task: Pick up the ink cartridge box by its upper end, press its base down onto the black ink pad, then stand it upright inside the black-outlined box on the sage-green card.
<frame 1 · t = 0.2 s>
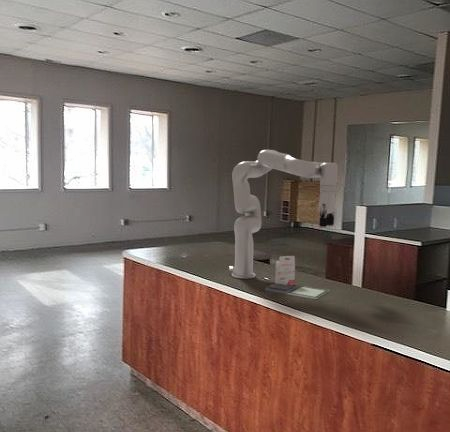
hand: (326, 225, 230), 31 cm above the counter, tool pointing down, fingers open, 9 cm apart
ink pad: (280, 290, 230), on the counter
ink cartridge box: (284, 284, 241), on the counter
marked card: (308, 292, 226), on the counter
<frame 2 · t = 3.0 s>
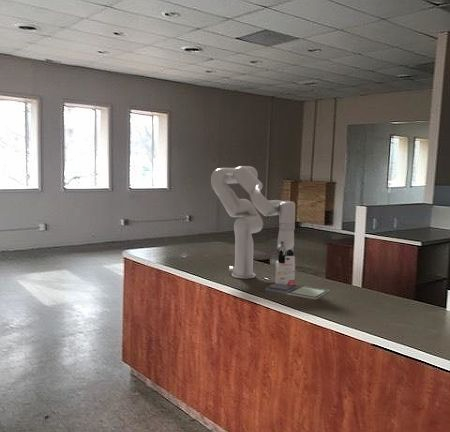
hand: (285, 261, 239), 12 cm above the counter, tool pointing down, fingers closed on ink cartridge box, 9 cm apart
ink cartridge box: (284, 284, 241), on the counter, touching gripper
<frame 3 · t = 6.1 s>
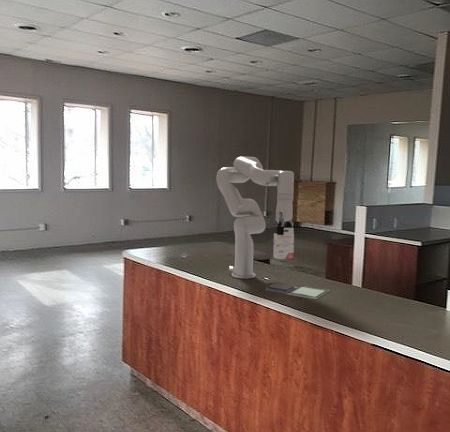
hand: (284, 233, 230), 26 cm above the counter, tool pointing down, fingers closed on ink cartridge box, 9 cm apart
ink cartridge box: (283, 258, 231), point 15 cm above the counter, touching gripper
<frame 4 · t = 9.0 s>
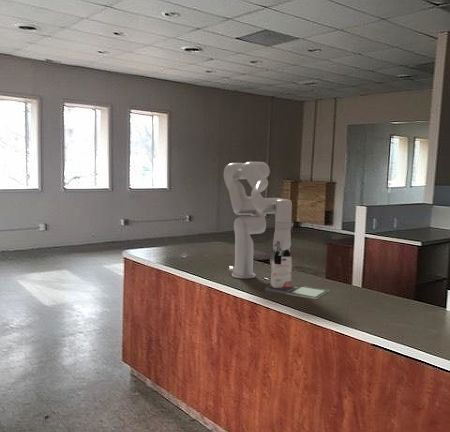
hand: (282, 262, 228), 13 cm above the counter, tool pointing down, fingers closed on ink cartridge box, 9 cm apart
ink cartridge box: (280, 286, 230), point 2 cm above the counter, touching gripper, ink pad
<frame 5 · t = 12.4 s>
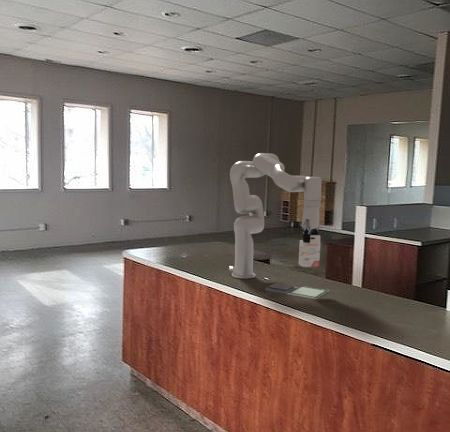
hand: (310, 241, 223), 24 cm above the counter, tool pointing down, fingers closed on ink cartridge box, 9 cm apart
ink cartridge box: (308, 266, 225), point 13 cm above the counter, touching gripper
when the fingers open (13 cm above the counter, at t = 15.1 s): ink cartridge box stays where it is, resting on marked card.
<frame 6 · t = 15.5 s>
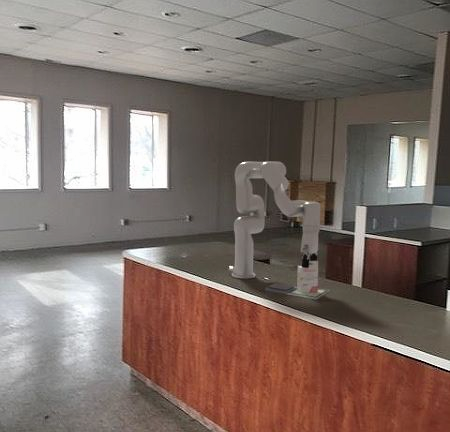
hand: (309, 265, 225), 13 cm above the counter, tool pointing down, fingers open, 9 cm apart
ink cartridge box: (307, 291, 227), resting on marked card
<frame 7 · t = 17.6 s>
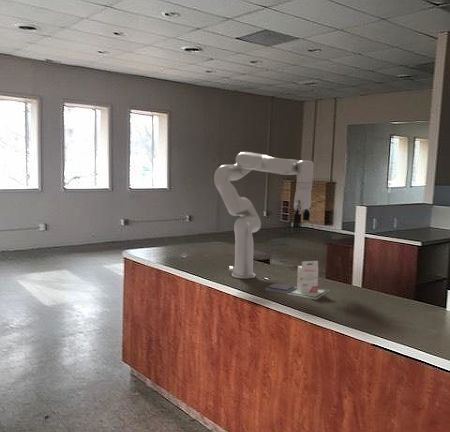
hand: (301, 221, 237), 32 cm above the counter, tool pointing down, fingers open, 9 cm apart
nothing on the counter moved.
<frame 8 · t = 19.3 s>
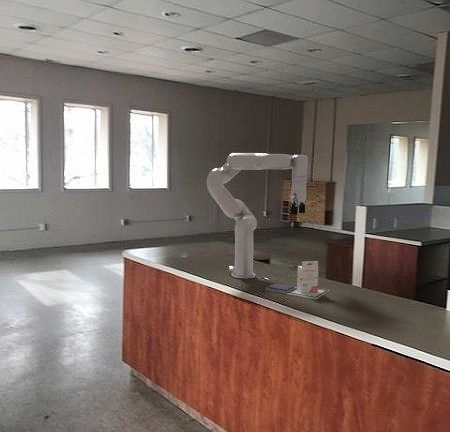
hand: (298, 213, 245), 34 cm above the counter, tool pointing down, fingers open, 9 cm apart
nothing on the counter moved.
at the end: ink cartridge box inside the target area on the marked card (0.9 cm from its centre), point 0.3 cm above the marked card's base; ink cartridge box tilted 0°; the gripper is holding nothing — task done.
